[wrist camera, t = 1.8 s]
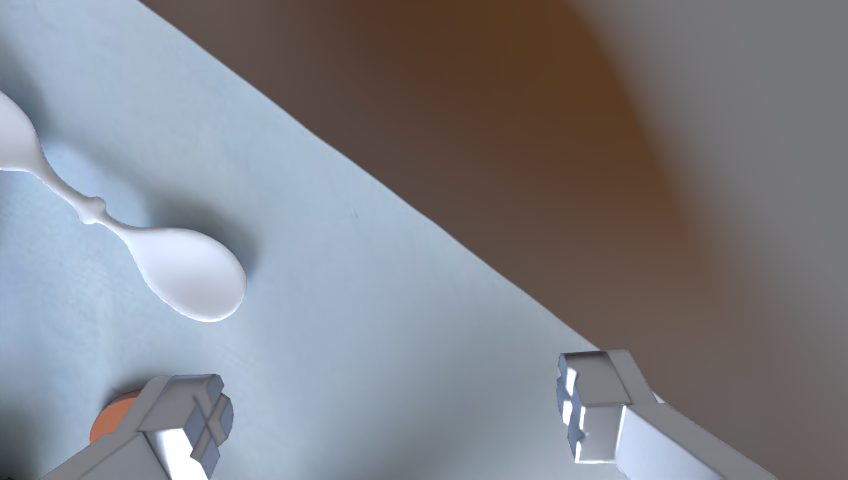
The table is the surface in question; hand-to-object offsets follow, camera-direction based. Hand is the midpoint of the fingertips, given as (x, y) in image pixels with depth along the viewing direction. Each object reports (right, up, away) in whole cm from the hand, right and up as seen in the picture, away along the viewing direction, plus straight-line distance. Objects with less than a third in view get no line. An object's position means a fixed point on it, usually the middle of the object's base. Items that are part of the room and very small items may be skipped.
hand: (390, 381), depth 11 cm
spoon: (-31, +7, +37) cm, 49 cm away
